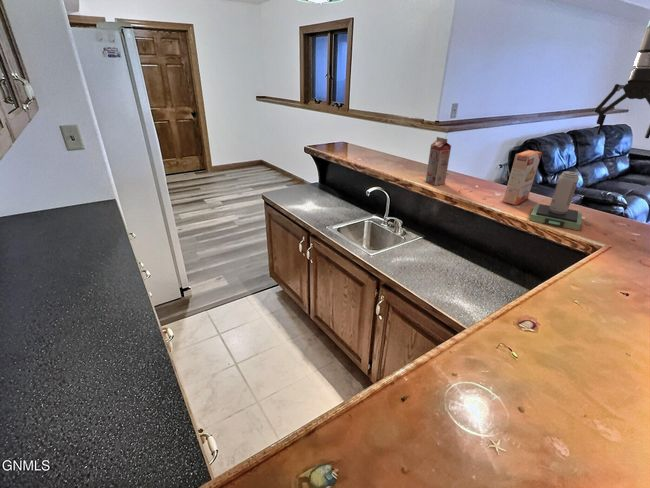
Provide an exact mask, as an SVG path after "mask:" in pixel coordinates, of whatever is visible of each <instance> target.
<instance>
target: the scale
mask: <svg viewBox="0 0 650 488" xmlns="http://www.w3.org/2000/svg"><path fill="white" fill-rule="evenodd" d="M539 205H540V204H534V207H533V209H532V211H531V213H530V216H529V221H530V222H535V223H541V224H546V225H549V226H555V227H560V228H565V229H569V230H575V231H580V230H581V227H582V221H583V213H582V212H579V211H578V217H577V222H571V221H566V220H561V219H556V218H551V217H546V216H541V215H536V212H537V210H538V208H539Z"/></svg>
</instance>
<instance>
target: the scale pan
mask: <svg viewBox="0 0 650 488" xmlns="http://www.w3.org/2000/svg"><path fill="white" fill-rule="evenodd" d="M538 205H539V208H538V210H537V212H536V215H541V216H546V217H551V218H556V219H561V220H566V221H571V222H577V217H578V212H579V210H575V209H569V208H568V211H567V212H565V214H557V213H553V212H551V211H550V208H549V207H550V204H549V205H548V204H544V203H539V204H538Z"/></svg>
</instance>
